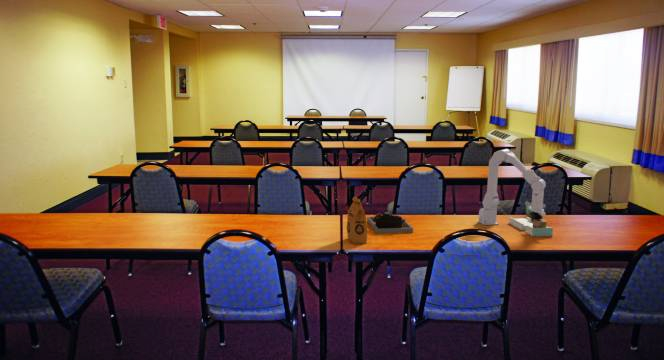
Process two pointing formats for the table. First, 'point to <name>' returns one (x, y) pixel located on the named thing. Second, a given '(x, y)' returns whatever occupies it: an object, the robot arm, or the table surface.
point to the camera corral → (390, 230)
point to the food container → (530, 210)
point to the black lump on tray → (388, 221)
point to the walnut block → (539, 223)
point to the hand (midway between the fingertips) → (535, 225)
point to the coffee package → (357, 223)
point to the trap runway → (530, 227)
